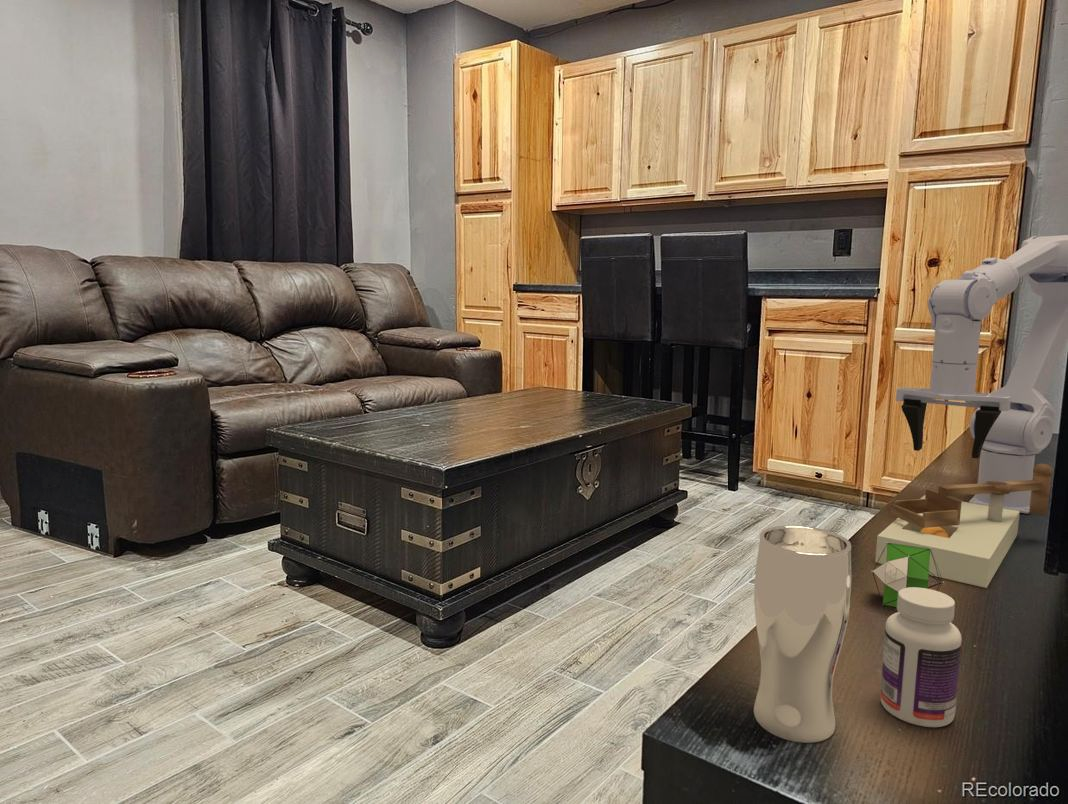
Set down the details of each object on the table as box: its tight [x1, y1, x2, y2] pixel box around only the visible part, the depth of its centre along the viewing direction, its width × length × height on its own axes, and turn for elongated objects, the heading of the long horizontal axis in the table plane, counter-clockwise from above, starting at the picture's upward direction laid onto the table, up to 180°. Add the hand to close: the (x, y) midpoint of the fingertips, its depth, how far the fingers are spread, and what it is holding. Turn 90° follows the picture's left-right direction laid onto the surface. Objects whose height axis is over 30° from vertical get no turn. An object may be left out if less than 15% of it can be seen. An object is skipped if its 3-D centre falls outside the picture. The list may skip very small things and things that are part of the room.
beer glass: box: [753, 525, 852, 744], centre depth 56 cm, size 7×7×15 cm
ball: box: [920, 527, 949, 538], centre depth 92 cm, size 4×4×4 cm
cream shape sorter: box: [875, 493, 1020, 589], centre depth 94 cm, size 24×12×7 cm, turn 139°
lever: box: [890, 462, 1054, 528], centre depth 94 cm, size 22×6×7 cm, turn 102°
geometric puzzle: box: [870, 542, 945, 608], centre depth 77 cm, size 7×7×8 cm
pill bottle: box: [880, 587, 962, 728], centre depth 57 cm, size 5×5×10 cm
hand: (946, 453), depth 107 cm, fingers open, 7 cm apart
